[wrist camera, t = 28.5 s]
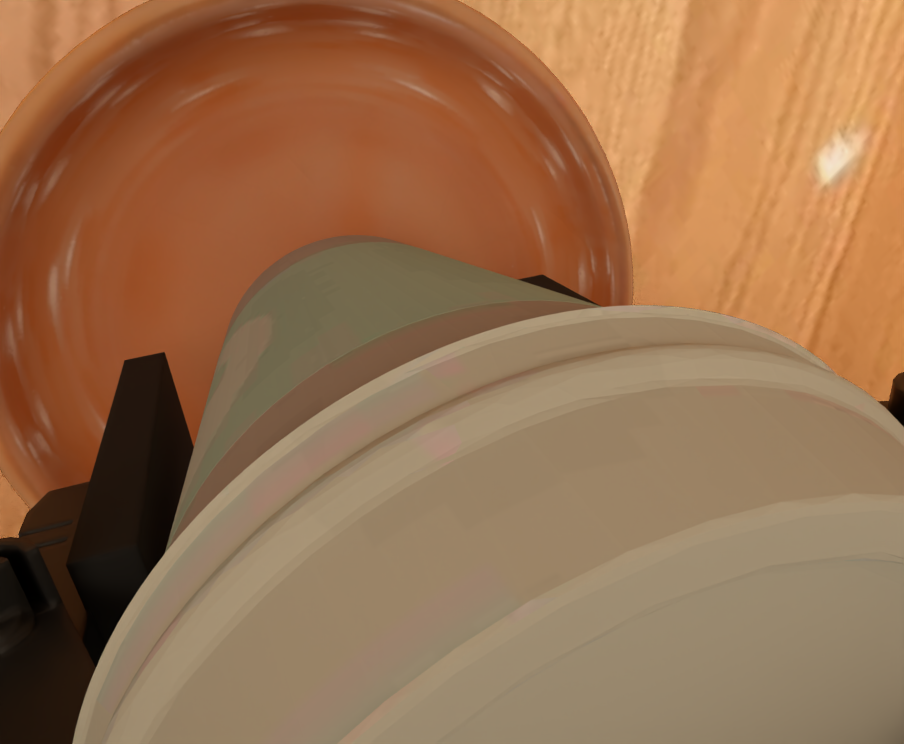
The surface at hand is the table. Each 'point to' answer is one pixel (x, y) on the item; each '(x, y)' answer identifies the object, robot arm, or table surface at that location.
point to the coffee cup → (514, 527)
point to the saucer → (266, 188)
